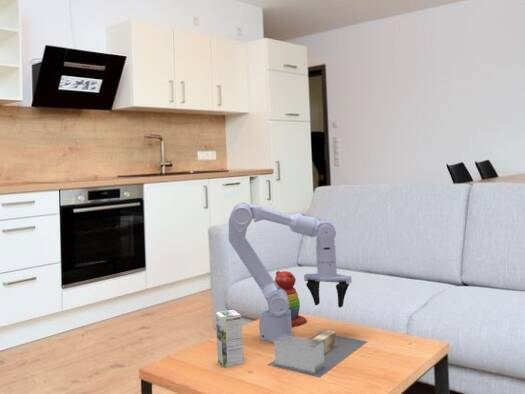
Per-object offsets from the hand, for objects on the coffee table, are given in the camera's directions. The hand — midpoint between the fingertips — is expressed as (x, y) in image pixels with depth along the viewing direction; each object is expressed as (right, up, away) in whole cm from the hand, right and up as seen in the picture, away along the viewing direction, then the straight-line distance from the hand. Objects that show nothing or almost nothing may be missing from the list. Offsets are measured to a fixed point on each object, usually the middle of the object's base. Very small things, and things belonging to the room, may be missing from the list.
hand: (328, 305), depth 152 cm
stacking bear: (-12, -10, +18) cm, 24 cm away
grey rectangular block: (-10, -11, -21) cm, 26 cm away
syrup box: (-29, -13, -15) cm, 35 cm away
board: (-4, -12, -12) cm, 17 cm away
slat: (-5, -11, -14) cm, 18 cm away
